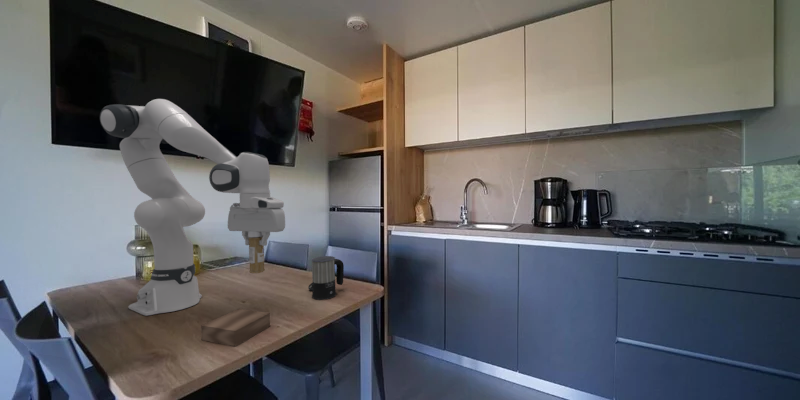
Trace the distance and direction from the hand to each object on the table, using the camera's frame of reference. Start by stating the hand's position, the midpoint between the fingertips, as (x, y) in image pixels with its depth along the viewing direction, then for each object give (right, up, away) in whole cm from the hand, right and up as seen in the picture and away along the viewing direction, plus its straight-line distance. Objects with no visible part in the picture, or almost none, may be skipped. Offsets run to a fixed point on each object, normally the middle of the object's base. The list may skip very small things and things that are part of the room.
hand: (256, 245), depth 92 cm
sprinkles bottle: (0, -9, 0) cm, 9 cm away
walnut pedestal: (0, -23, -11) cm, 26 cm away
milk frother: (+15, -23, +22) cm, 35 cm away
